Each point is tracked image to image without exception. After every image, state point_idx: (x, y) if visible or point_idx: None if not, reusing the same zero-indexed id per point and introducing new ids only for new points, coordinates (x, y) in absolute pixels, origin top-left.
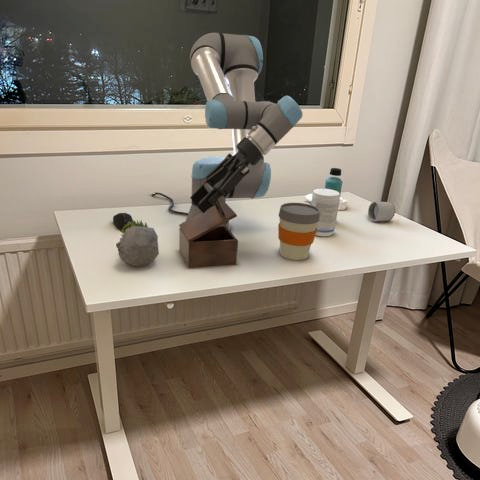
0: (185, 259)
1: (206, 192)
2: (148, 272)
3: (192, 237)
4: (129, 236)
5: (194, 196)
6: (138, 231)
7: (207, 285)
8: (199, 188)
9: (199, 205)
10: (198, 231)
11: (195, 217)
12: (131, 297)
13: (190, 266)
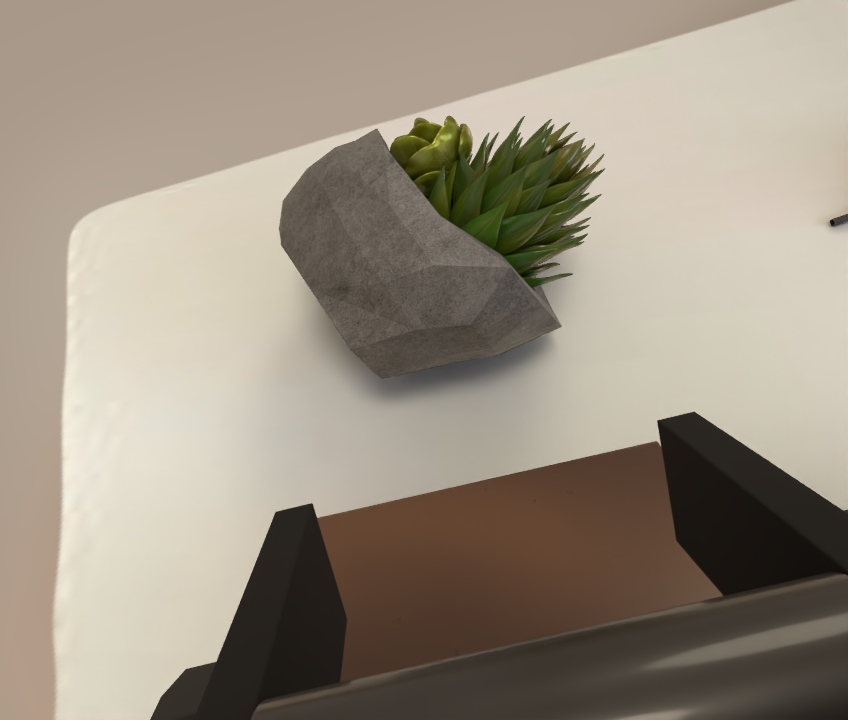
0: None
1: None
2: (310, 370)
3: None
4: (309, 167)
5: (684, 462)
6: (348, 189)
7: (98, 701)
8: (799, 498)
9: (268, 534)
10: (347, 602)
11: (700, 574)
12: (76, 330)
13: None
